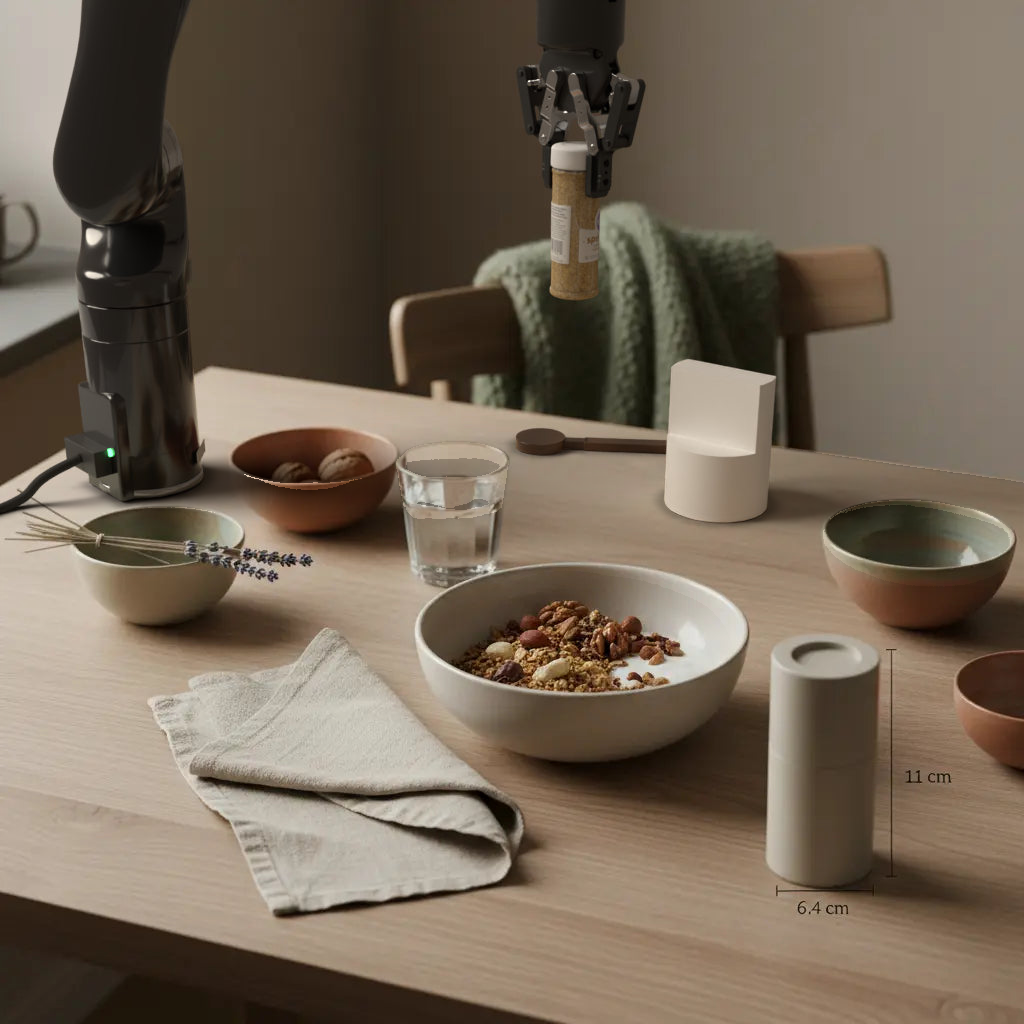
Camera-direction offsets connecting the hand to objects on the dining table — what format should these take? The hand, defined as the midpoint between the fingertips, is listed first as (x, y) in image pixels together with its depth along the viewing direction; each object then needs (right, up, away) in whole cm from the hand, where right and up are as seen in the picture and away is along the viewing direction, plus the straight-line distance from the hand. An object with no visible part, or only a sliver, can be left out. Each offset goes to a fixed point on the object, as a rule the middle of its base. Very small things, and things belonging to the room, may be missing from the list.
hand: (576, 191), depth 133 cm
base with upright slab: (+12, -28, 0) cm, 30 cm away
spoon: (+3, -22, +12) cm, 25 cm away
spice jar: (0, -9, +4) cm, 10 cm away
